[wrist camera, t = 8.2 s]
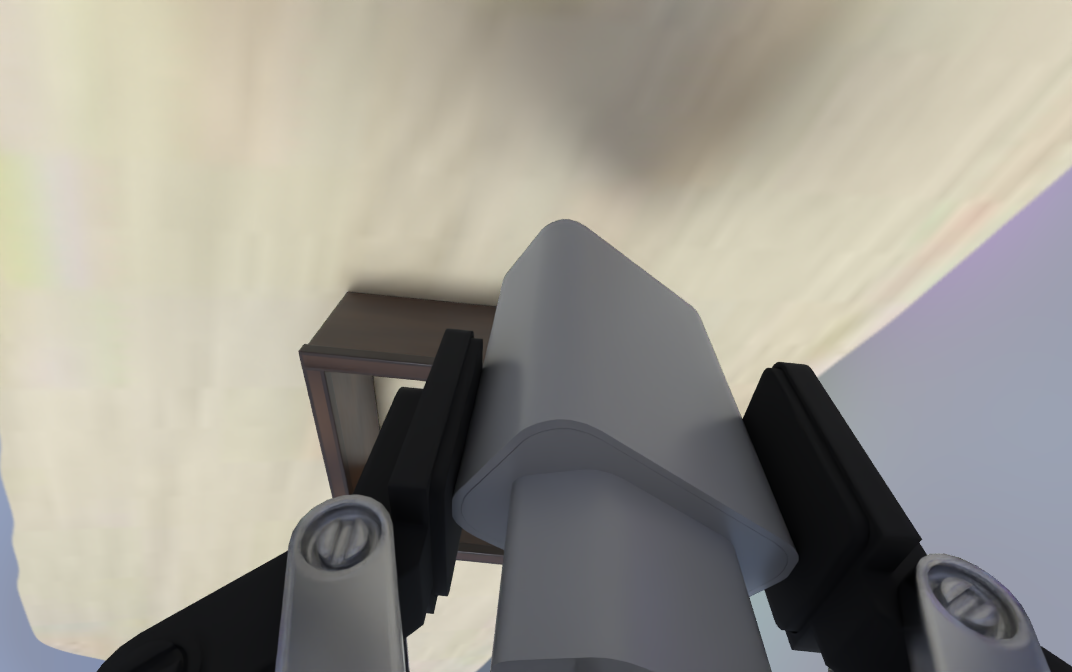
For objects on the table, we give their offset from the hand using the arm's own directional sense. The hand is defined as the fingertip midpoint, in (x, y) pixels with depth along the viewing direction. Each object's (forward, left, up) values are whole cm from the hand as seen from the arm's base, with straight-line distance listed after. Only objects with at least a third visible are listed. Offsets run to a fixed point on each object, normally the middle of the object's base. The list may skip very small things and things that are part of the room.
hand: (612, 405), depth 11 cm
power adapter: (0, 0, -4) cm, 4 cm away
